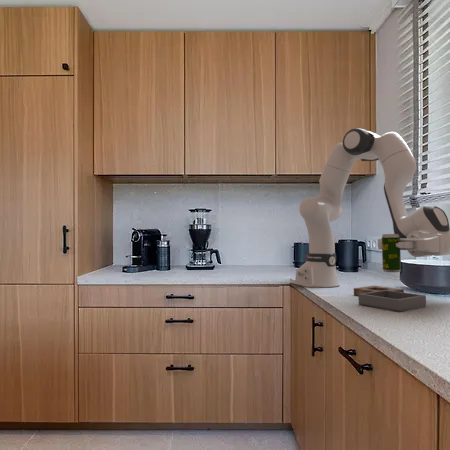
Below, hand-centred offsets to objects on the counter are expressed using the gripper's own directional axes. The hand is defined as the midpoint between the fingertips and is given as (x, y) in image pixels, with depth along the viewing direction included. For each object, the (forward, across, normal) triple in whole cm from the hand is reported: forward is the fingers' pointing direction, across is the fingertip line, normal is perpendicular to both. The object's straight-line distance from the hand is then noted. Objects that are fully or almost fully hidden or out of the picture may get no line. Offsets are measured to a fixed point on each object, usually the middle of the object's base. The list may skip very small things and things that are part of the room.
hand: (388, 244), depth 119 cm
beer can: (-1, 0, +9) cm, 9 cm away
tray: (0, +1, +19) cm, 19 cm away
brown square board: (-10, -15, +19) cm, 26 cm away
